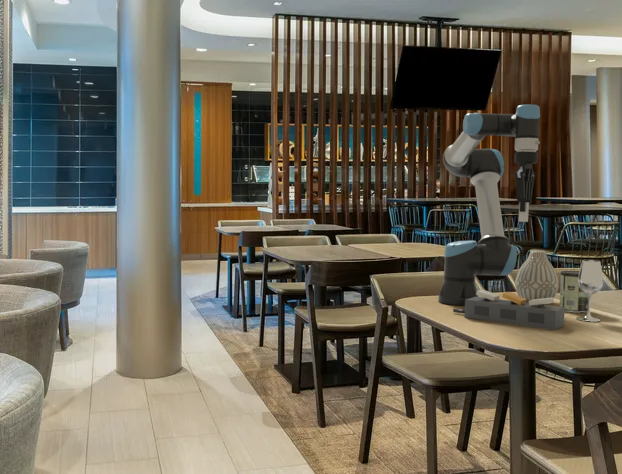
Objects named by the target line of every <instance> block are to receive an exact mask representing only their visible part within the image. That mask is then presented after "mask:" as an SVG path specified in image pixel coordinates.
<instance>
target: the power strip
mask: <svg viewBox="0 0 622 474" xmlns="http://www.w3.org/2000/svg"><path fill="white" fill-rule="evenodd" d="M452 312H453V313H457V314H459V313H460V314H462V315H463V314H464V318H466V319H473V320H479V321H480V320H481V321H488V322H495V323H500V324H501V323H502V324H508V325H515V326H523V327H531V328H537V329H538V328H539V329H545V330H553V331H556V330H558V329H560V328H562V327H563V328H564V326H565V313H566V312H565V307H560V305H559V306H557V305H549V304H538V305H529V303H526V302H525V304H522V305H519V304H517V303H514V302H512V301H510V300H508V299H500V298H499V300H495V301H492V300H489V299H487V298H484V297H481V296H479V297H473V298H469V299H466V300H465V305H464V309H459V308H453V309H452Z"/></svg>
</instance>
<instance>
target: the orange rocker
mask: <svg viewBox="0 0 622 474" xmlns="http://www.w3.org/2000/svg"><path fill="white" fill-rule="evenodd" d="M501 297H502V298H503V299H504V300H509V301H512V302H514V303H517V304H519V305H522V304H525V303H526V299H524V298H522V297H520V296H519V295H518V294H514V293H512V292H510V291H506V292H503V293H502V295H501Z"/></svg>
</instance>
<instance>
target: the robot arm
mask: <svg viewBox="0 0 622 474" xmlns="http://www.w3.org/2000/svg"><path fill="white" fill-rule="evenodd" d="M540 110H541V109H540V106H539V105H538V104H520V105H517V107H516V111H515V114H513V113H482V112H481V113H480V112H473V113H466V114H465V115H464V119H463V122H462V132H461V133H460V135H459V136H458V137H457V138H456V139H455V141H454V142H453V144H451V145H449V146H447V148H445V150H444V152H443V154H442V163H443V166H444V168H445V169H446V170H447V171H448V172H449V173H451V174H452V175H454V176H456V177H459V178H470V179H469V180H470V183H471V185H473V186H474V189H475V196H476V205H477V210H478V211H477V213H478V221H479V229H480V236H481V237H480V240H478V242H477V241H476V240H458V241H453V242H449V243H447V244H446V245H445V247H444V248H445V249H444V254H443V257H444V263H443V265H444V267H443V283H442V286H441V289H440V291H439V294H438V298H437V299H438V300H437V301H438V302H439V303H441V304H445V305H447V304H448V305H453V306H454V305H455V306H465V300H466V299H469V298H473V297H480V296H478V295H476V293H477V291H478V288H477V286H476V276H498V277H500V276H509V275H510V274H512V273H513V272H514V269H515V267H516V263H517V256H518V254H517V251H518V250H517V248H516V246H515V245H513V244H510V239H509V238H508V237H507V236H505V233H504V225H503V216H502V210H501V204H500V195H499V188H498V182H499V181H500V180H501V177H503V174H504V172H505V168H504V166H505V162H504V158H503V155H502V152H500V151H499V150H498V149H494V148H488V147H487V148H477V147H478V146H479V144H480V143H481V142H482V140H484V138H485V137H486V136H499V137H500V136H501V137H503V136H504V137H511V138H513V137H514V151H516V152H514V155H513V156H514V159H513V160H514V161H513V162H514V163H515V164H518V169H517V171H515V172H514V176H515V185H516V187H515V188H516V203H519V204H518V222H523V223H525V222H526V223H528V222H529V209H530V208H529V207H530V206H529V205H530V203H532V202H533V200H532V199H533V198H532V197H533V190H534V189H533V188H534V183H535V182H534V181H535V178H536V172H534V168H533V164H537V163H538V159H539V153H538V152H537V151H538V150H539V145H540V144H541V142H540V140H539V137H540V120H541V114H540V113H541V112H540Z"/></svg>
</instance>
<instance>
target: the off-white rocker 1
mask: <svg viewBox="0 0 622 474" xmlns="http://www.w3.org/2000/svg"><path fill="white" fill-rule="evenodd" d="M476 295H478V296H479V297H484V298H487V299H489V300H492V301H495V300H499V299H500V296H501V295H500V294H497V293H494V292H491V291H488V290H485V289H479V290H478V289H477V293H476Z"/></svg>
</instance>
